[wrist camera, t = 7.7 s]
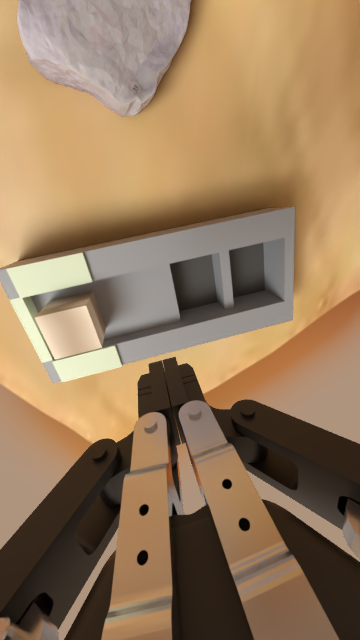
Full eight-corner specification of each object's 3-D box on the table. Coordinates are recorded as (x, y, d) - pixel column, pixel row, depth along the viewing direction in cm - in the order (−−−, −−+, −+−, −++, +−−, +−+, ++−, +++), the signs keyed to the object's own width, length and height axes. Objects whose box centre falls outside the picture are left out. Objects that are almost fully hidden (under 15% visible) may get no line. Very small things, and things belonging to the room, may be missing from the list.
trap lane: (269, 207, 26) (297, 206, 22) (271, 306, 31) (294, 321, 27) (17, 261, 23) (-8, 271, 19) (63, 358, 28) (51, 385, 24)
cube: (92, 290, 23) (85, 305, 19) (106, 328, 25) (101, 347, 21) (49, 300, 23) (34, 317, 19) (65, 337, 24) (54, 359, 21)
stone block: (193, -21, 20) (57, -169, 15) (222, -70, 16) (51, -292, 11) (142, 141, 24) (21, 67, 19) (155, 134, 20) (8, 38, 15)
